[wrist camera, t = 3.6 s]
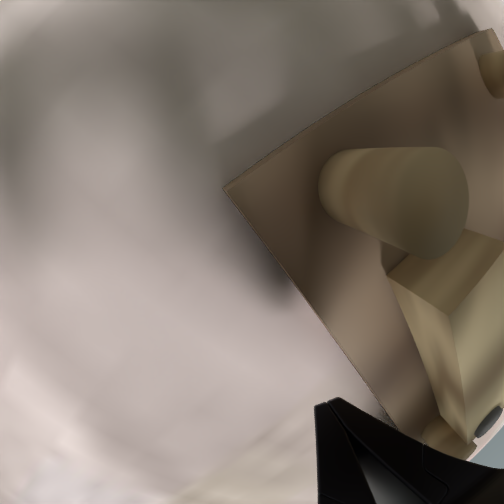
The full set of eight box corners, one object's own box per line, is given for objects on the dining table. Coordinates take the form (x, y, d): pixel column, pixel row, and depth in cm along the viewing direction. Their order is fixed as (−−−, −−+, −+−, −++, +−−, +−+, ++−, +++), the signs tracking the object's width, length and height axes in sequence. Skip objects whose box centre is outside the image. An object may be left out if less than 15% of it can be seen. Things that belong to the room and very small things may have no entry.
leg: (475, 381, 13) (507, 409, 10) (440, 415, 13) (470, 448, 10) (442, 221, 9) (515, 246, 6) (385, 275, 9) (455, 321, 6)
